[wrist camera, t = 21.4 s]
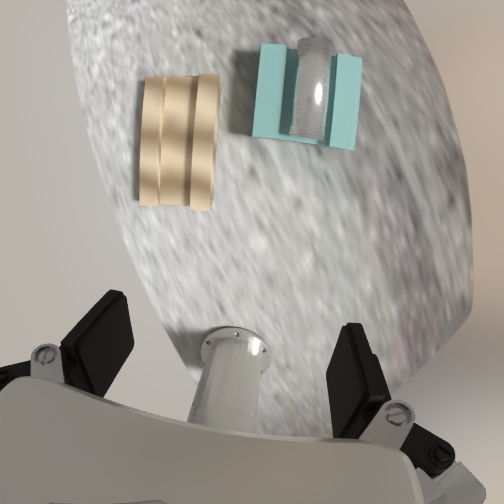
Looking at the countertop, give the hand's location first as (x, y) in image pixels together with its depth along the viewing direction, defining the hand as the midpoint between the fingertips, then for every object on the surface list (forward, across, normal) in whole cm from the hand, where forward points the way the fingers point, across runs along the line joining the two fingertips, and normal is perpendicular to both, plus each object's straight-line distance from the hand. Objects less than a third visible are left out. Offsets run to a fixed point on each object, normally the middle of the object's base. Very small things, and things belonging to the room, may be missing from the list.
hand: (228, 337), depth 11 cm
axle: (+26, -4, -15) cm, 30 cm away
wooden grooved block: (+28, +12, -7) cm, 32 cm away
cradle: (+28, -4, -14) cm, 32 cm away
